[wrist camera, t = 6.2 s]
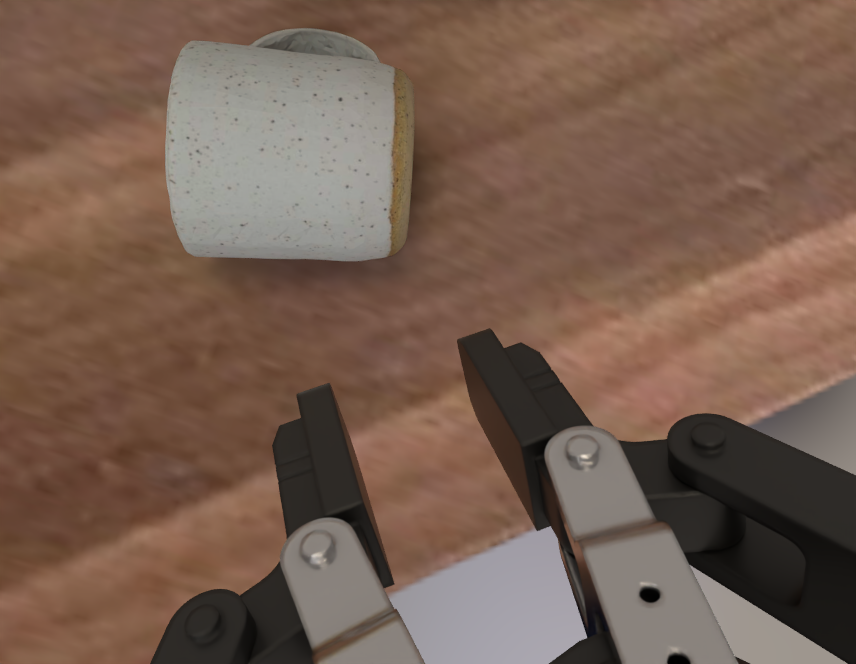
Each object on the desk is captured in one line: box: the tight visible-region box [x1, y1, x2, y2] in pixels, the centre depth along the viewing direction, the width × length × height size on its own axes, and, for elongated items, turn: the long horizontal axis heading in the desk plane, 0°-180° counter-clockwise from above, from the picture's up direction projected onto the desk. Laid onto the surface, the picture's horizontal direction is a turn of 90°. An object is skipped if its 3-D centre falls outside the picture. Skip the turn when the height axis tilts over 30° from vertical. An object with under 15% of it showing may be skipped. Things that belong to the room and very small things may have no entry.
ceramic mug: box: [165, 28, 414, 261], centre depth 28 cm, size 11×8×8 cm
